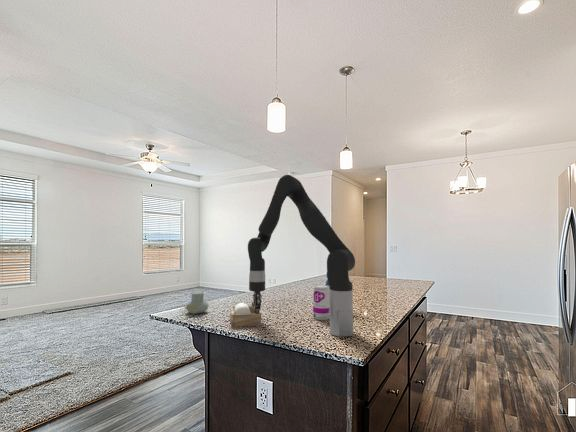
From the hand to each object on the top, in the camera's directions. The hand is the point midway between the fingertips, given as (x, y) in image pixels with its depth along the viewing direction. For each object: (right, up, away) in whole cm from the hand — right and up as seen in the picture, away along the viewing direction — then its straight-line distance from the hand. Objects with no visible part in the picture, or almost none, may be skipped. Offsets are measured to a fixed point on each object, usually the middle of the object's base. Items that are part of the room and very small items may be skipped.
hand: (256, 318), depth 145 cm
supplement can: (+31, -2, +4) cm, 31 cm away
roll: (-6, +2, -1) cm, 7 cm away
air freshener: (-32, -3, +15) cm, 36 cm away
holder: (-5, -1, -1) cm, 5 cm away
